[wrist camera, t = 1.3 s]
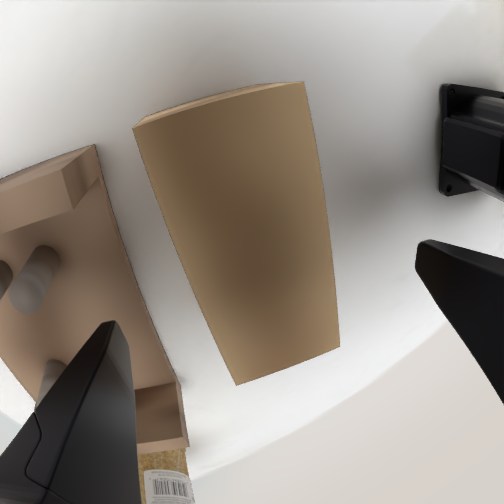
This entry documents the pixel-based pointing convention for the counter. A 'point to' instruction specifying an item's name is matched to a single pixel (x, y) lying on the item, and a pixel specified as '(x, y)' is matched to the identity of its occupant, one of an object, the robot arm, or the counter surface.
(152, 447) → the peg cradle
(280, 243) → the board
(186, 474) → the sprinkles bottle
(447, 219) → the counter surface
